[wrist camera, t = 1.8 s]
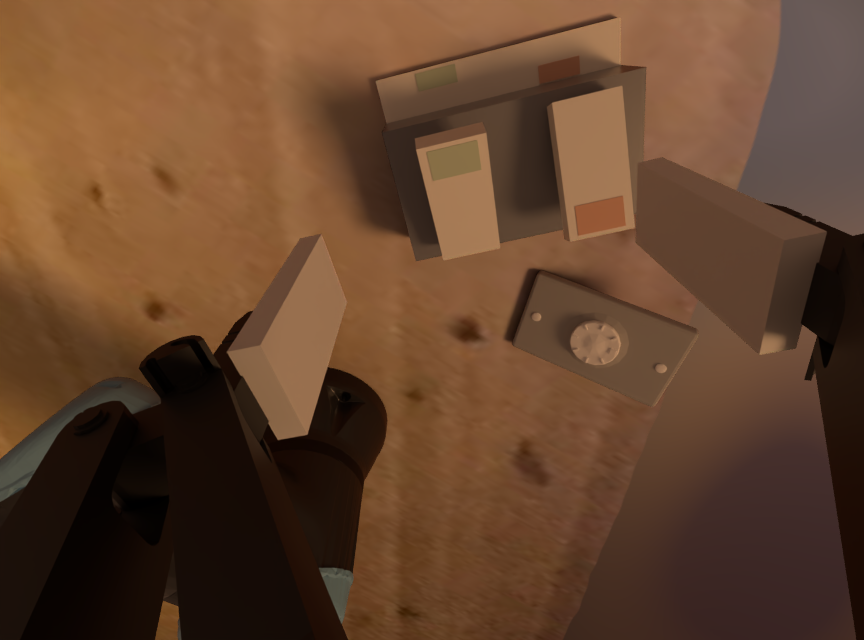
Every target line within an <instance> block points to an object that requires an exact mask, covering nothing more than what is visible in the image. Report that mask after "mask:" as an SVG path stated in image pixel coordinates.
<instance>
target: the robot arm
mask: <svg viewBox="0 0 864 640" xmlns="http://www.w3.org/2000/svg"><path fill="white" fill-rule="evenodd" d="M636 243H637V244H638V245H639V246H640V247H641V248H642V249H643V250H644V251H645V252H647V253H648V254H649V255H650V256H651V257H652V258H653V259H654V260H655V261H656V262H658V263H659V264H660V265H661V266H662V267H663V268H664V269H665V270H666V271H667V272H669V273H670V274H671V275H672V276H673V277H674V278H675V279H676V280H677V281H678V282H680V283H681V284H682V285H683V286H684V287H685V288H686V289H687V290H688V291H689V292H691V293H692V294H693V295H694V296H695V297H696V298H697V299H698V300H699V301H701V302H702V303H703V304H704V305H705V306H706V307H707V308H708V309H709V310H711V311H712V312H713V313H714V314H715V315H716V316H717V317H718V318H719V319H720V320H722V321H723V322H724V323H725V324H726V325H727V326H728V327H729V328H730V329H731V330H732V331H734V332H735V333H736V334H737V335H738V336H739V337H740V338H741V339H743V340H744V341H745V342H746V343H747V344H748V345H749V346H750V347H751V348H752V349H753V350H755V351H756V352H757V353H758V354H759V355H761V354H767V353H773V352H778V351H784V350H790V349H795V348H796V346H797V342H798V339H799V335H800V331H801V327H802V325H804V326H805V327H807V328H808V329H809V330H811V331H812V332H813V333H815V334H816V335H817V339H816V342H815V345H814V349H813V352H812V356H811V359H810V362H809V366H808V369H807V373H806V376H805V380H810V381H811V379H812V376H813V374H815V373H816V379H817V385H818V392H819V398H820V404H821V411H822V417H823V424H824V431H825V437H826V444H827V450H828V457H829V464H830V470H831V476H832V483H833V490H834V496H835V503H836V509H837V516H838V522H839V529H840V535H841V542H842V548H843V555H844V561H845V568H846V574H847V581H848V588H849V594H850V601H851V607H852V614H853V620H854V627H855V632H856V640H864V234H860V235H855V236H852V235H849V234H847V233H845V232H842V231H840V230H838V229H835V228H833V227H831V226H828V225H826V224H824V223H822V222H816V220H815V219H812V218H810V217H808V216H802V214H801V213H799V212H796V211H794V210H792V209H789V208H787V207H783V206H778V205H773V204H768V203H763V202H760V201H758V200H756V199H754V198H751V197H749V196H747V195H745V194H742V193H740V192H738V191H736V190H734V189H731V188H729V187H727V186H725V185H723V184H720V183H718V182H716V181H714V180H711V179H709V178H707V177H705V176H703V175H700V174H698V173H696V172H694V171H691V170H689V169H687V168H685V167H683V166H680V165H678V164H676V163H674V162H672V161H669V160H667V159H665V158H663V157H662V158H657V159H653V160H648V161H644V162H640V163H638V167H637V206H636ZM346 304H347V301H346V298H345V295H344V293H343V290H342V287H341V285H340V282H339V279H338V277H337V274H336V271H335V269H334V266H333V263H332V261H331V258H330V255H329V253H328V250H327V247H326V245H325V242H324V239H323V237H322V234H318V235H314V236H309V237H305V238H300V240H299V241H298V243H297V244H296V246H295V247H294V249H293V251H292V252H291V254H290V255H289V257H288V258H287V260H286V261H285V263H284V264H283V266H282V268H281V269H280V271H279V272H278V274H277V275H276V277H275V278H274V280H273V281H272V283H271V285H270V286H269V288H268V289H267V291H266V292H265V294H264V295H263V297H262V298H261V300H260V301H259V303H258V305H257V306H256V308H255V309H254V311H250V312H248V313H246V314H245V315H244V316H243V317H242V318H240V319H239V320H238V321H237V322H235V324H234V325H233V327H232V328H231V330H230V331H229V333H228V335H227V336H226V337H225V338H224V340H223V341H222V344H220V346H219V347H218V349H217V350H216V352H215V353H214V354H212V352H211V350H210V349H209V347H208V345H207V344H206V342H205V341H204V339H203V338H202V337H201V336H195V335H191V336H186V337H181V338H178V339H176V340H173V341H170V342H168V343H166V344H164V345H162V346H161V347H159V348H157V349H156V350H154V351H153V352H152V353H150V354H149V355H148V356H147V357H146V358H145V359H144V360H143V361H142V362H141V364H140V367H139V369H140V371H141V372H142V374H143V375H144V376H145V378H146V379H147V380H148V382H149V383H150V385H151V386H152V387H153V389H154V390H155V391H154V390H153V389H151V388H149V387H147V386H145V385H143V384H141V383H139V382H137V381H135V380H133V379H130V378H125V377H114V378H109V379H106V380H103V381H101V382H99V383H97V384H95V385H93V386H92V387H90V388H89V389H87V390H86V391H85V392H83V393H82V394H81V395H79V396H78V397H76V398H75V399H74V400H72V401H71V402H70V403H68V404H67V405H66V406H65V407H63V408H62V409H61V410H59V411H58V412H57V413H56V414H54V415H53V416H52V417H50V418H49V419H48V420H47V421H45V422H44V423H43V424H42V425H40V426H39V427H38V428H37V429H36V430H34V431H33V432H32V433H31V434H29V435H28V436H27V437H26V438H25V439H23V440H22V441H21V442H20V443H19V444H17V445H16V446H15V447H14V448H13V449H11V450H10V451H9V452H8V453H7V454H6V455H4V456H3V457H2V458H1V459H0V640H155V636H156V631H157V627H158V622H159V617H160V612H161V607H162V602H163V601H166V602H169V603H171V604H174V605H176V606H178V607H179V620H178V640H348V639H347V636H346V634H345V631H344V629H343V626H342V622H343V619H344V615H345V609H346V605H347V600H348V595H349V590H350V587H351V585H352V583H353V566H354V558H355V550H356V542H357V533H358V525H359V517H360V509H361V501H362V493H363V486H364V480H365V479H366V477H367V475H368V473H369V471H370V470H371V468H372V466H373V464H374V462H375V460H376V458H377V456H378V454H379V453H380V451H381V449H382V447H383V445H384V441H385V437H386V428H387V414H386V410H385V407H384V404H383V402H382V401H381V399H380V397H379V396H378V395H377V394H376V392H375V391H374V390H373V389H372V388H371V387H369V386H368V385H367V384H366V383H364V382H363V381H361V380H360V379H358V378H356V377H354V376H352V375H350V374H347V373H345V372H342V371H338V370H334V369H329V368H327V367H328V364H329V361H330V357H331V354H332V351H333V347H334V344H335V341H336V337H337V334H338V331H339V327H340V324H341V321H342V317H343V314H344V311H345V307H346Z"/></svg>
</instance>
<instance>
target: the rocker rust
mask: <svg viewBox="0 0 864 640" xmlns="http://www.w3.org/2000/svg"><path fill="white" fill-rule="evenodd" d="M547 112H548V120H549V127H550V135H551V142H552V150H553V157H554V165H555V172H556V180H557V187H558V195H559V202H560V210H561V217H562V225H563V232H564V239H565V240H568V241H570V242H571V241H576V240H581V239H585V238H590V237H595V236H600V235H604V234H609V233H614V232H618V231H623V230H628V229H633V228H635V224H634V213H633V201H632V190H631V178H630V167H629V156H628V144H627V133H626V121H625V110H624V99H623V87H622V86H618V87H614V88H610V89H606V90H602V91H598V92H594V93H590V94H586V95H582V96H578V97H573V98H569V99H565V100H561V101H557V102H553V103H551V104H550V105H549V106H547Z"/></svg>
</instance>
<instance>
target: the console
mask: <svg viewBox="0 0 864 640" xmlns="http://www.w3.org/2000/svg"><path fill="white" fill-rule="evenodd" d="M376 85H377V89H378V93H379V97H380V101H381V104H382V108H383V112H384V116H385V120H386V125H385V127H384V129H383V131H382V135H383V139H384V142H385V146H386V150H387V154H388V157H389V161H390V165H391V169H392V172H393V176H394V180H395V184H396V187H397V191H398V195H399V199H400V203H401V206H402V210H403V214H404V218H405V221H406V225H407V229H408V233H409V236H410V240H411V244H412V248H413V251H414V255H415V259H416V261H419V260H424V259H428V258H433V257H438V256H442V252H441V248H440V244H439V240H438V236H437V232H436V228H435V224H434V220H433V216H432V212H431V208H430V204H429V200H428V196H427V192H426V188H425V184H424V180H423V176H422V172H421V168H420V164H419V160H418V155H417V151H416V144H415V138H418V137H423V136H427V135H431V134H435V133H439V132H443V131H447V130H451V129H455V128H459V127H463V126H468V125H472V124H476V123H480V122H483V125H484V128H485V130H486V134H487V142H488V150H489V159H490V167H491V175H492V183H493V192H494V200H495V208H496V216H497V224H498V233H499V241H500V243H503V242H507V241H512V240H517V239H521V238H526V237H531V236H535V235H540V234H545V233H549V232H554V231H558V230H563V225H562V217H561V210H560V202H559V195H558V187H557V180H556V172H555V165H554V157H553V150H552V142H551V135H550V127H549V120H548V112H547V106H549V105H550V104H551V103H553V102H557V101H561V100H565V99H569V98H573V97H578V96H582V95H586V94H590V93H594V92H598V91H602V90H606V89H610V88H614V87H618V86H622V87H623V99H624V110H625V121H626V133H627V144H628V156H629V167H630V178H631V190H632V201H633V213H634V214H636V206H637V167H638V163H640V162H643V159H644V126H645V92H646V67H638V66H626V65H621V17H618V18H614V19H610V20H607V21H603V22H599V23H595V24H591V25H587V26H584V27H580V28H576V29H572V30H568V31H564V32H561V33H557V34H553V35H549V36H545V37H541V38H538V39H534V40H530V41H526V42H522V43H518V44H515V45H511V46H507V47H503V48H499V49H495V50H491V51H488V52H484V53H480V54H476V55H472V56H468V57H465V58H461V59H457V60H453V61H449V62H445V63H442V64H438V65H434V66H430V67H426V68H422V69H419V70H415V71H411V72H407V73H403V74H399V75H396V76H392V77H388V78H384V79H380V80H376Z"/></svg>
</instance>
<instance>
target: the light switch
mask: <svg viewBox="0 0 864 640" xmlns="http://www.w3.org/2000/svg"><path fill="white" fill-rule="evenodd" d="M572 331H573V332H572ZM698 336H699V333H698V330H697V329H696V328H693V327H691V326H688V325H686V324H683V323H680V322H678V321H675V320H672V319H670V318H667V317H665V316H662V315H659V314H657V313H654V312H651V311H649V310H646V309H643V308H641V307H638V306H635V305H633V304H630V303H628V302H625V301H622V300H620V299H617V298H614V297H612V296H609V295H606V294H604V293H601V292H598V291H596V290H593V289H591V288H588V287H585V286H583V285H580V284H577V283H575V282H572V281H569V280H567V279H564V278H561V277H559V276H556V275H554V274H551V273H548V272H546V271H543V270H542V271H540V272H539V273H538V274H537V276H536V278H535V281H534V284H533V287H532V289H531V292H530V295H529V298H528V301H527V303H526V306H525V309H524V312H523V314H522V317H521V320H520V323H519V325H518V328H517V331H516V334H515V336H514V339H513V342H512V345H513V346H515V347H517V348H519V349H521V350H524V351H526V352H528V353H530V354H533V355H535V356H537V357H539V358H542V359H544V360H546V361H548V362H551V363H553V364H555V365H558V366H560V367H562V368H564V369H567V370H569V371H571V372H573V373H576V374H578V375H580V376H582V377H585V378H587V379H589V380H591V381H594V382H596V383H598V384H600V385H603V386H605V387H607V388H609V389H612V390H614V391H616V392H618V393H621V394H623V395H625V396H627V397H630V398H632V399H634V400H636V401H639V402H641V403H643V404H646V405H648V406H650V407H654V406H655V405H656V404H657V402H658V400H659V399H660V397H661V396H662V394H663V392H664V391H665V389H666V388H667V386H668V384H669V383H670V381H671V380H672V378H673V376H674V375H675V373H676V372H677V370H678V368H679V367H680V365H681V364H682V362H683V360H684V359H685V357H686V356H687V354H688V352H689V351H690V349H691V348H692V346H693V344H694V343H695V341H696V340H697V338H698ZM620 345H621V346H620ZM619 349H620V350H619Z"/></svg>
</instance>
